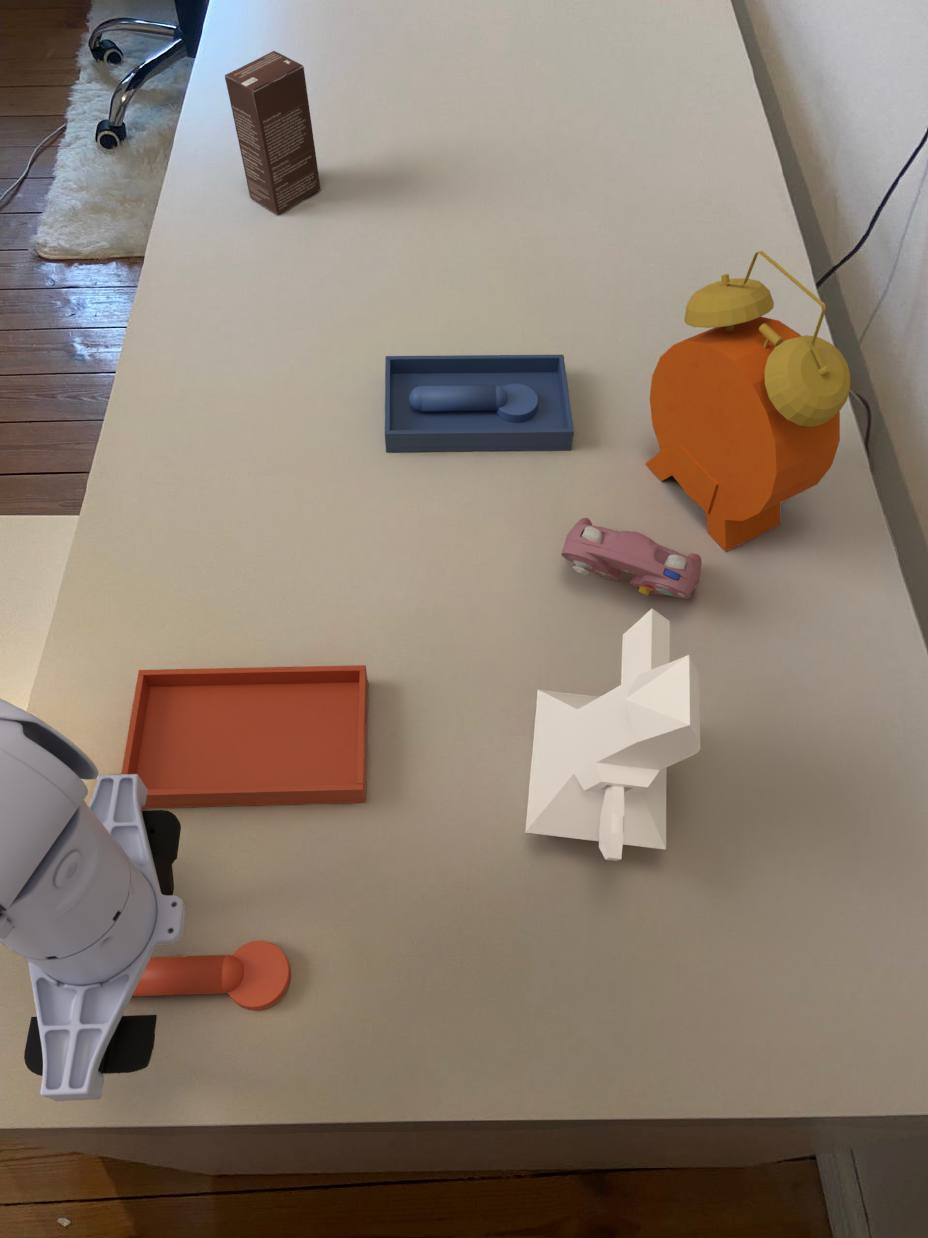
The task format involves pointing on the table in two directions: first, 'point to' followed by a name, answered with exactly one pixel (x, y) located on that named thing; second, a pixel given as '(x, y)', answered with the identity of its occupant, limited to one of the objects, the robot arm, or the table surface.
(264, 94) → the box
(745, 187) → the table surface
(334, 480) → the table surface
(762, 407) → the alarm clock
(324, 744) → the red tray
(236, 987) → the red spoon
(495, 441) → the blue tray
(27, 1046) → the robot arm
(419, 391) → the blue spoon
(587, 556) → the pink toy car
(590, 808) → the white faceted sculpture
